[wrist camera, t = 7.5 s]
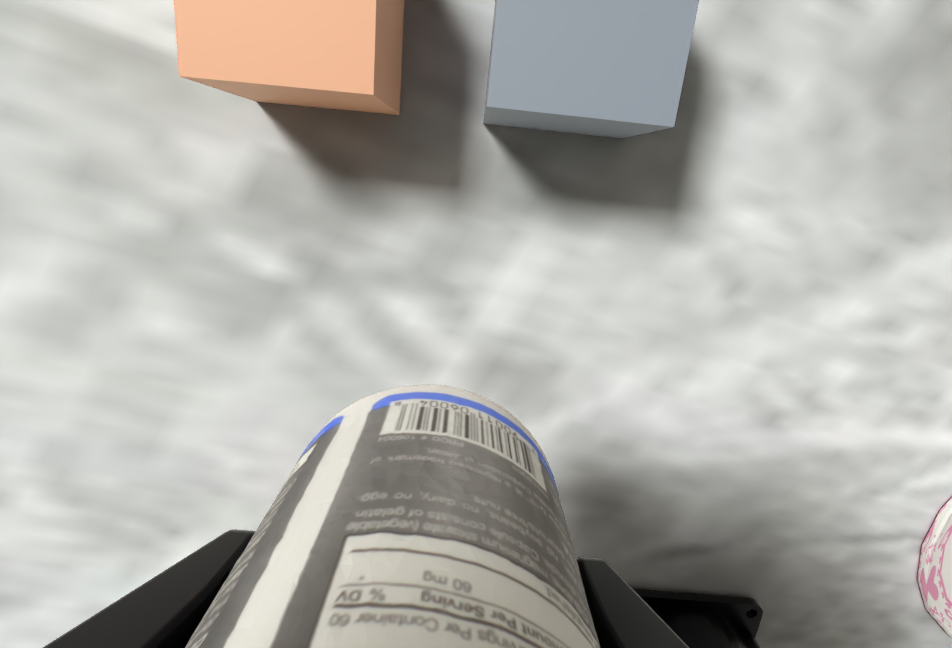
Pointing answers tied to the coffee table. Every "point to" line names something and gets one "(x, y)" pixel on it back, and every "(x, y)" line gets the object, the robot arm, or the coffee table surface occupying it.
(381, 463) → the pill bottle
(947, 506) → the teacup
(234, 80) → the terracotta block
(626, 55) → the slate-grey block
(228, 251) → the coffee table surface
